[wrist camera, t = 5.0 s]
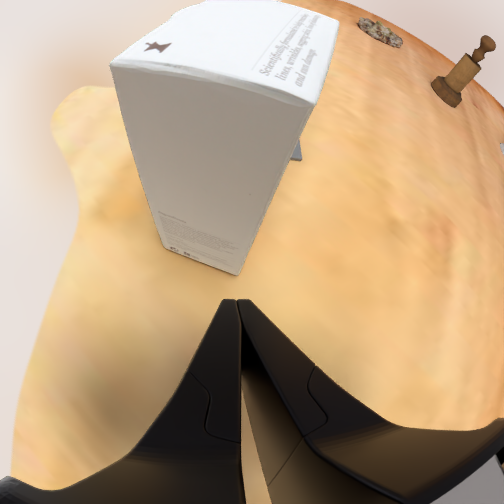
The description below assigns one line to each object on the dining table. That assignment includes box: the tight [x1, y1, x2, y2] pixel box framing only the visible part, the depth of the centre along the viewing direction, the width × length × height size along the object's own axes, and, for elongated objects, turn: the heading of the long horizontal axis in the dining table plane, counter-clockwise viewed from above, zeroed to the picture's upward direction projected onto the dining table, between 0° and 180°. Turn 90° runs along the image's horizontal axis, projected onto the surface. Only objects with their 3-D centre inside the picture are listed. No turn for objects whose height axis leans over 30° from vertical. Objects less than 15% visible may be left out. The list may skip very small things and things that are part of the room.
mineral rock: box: [358, 17, 403, 48], centre depth 39 cm, size 11×4×8 cm
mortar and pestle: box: [431, 35, 496, 107], centre depth 28 cm, size 7×6×18 cm
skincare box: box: [110, 0, 339, 275], centre depth 13 cm, size 8×6×15 cm
